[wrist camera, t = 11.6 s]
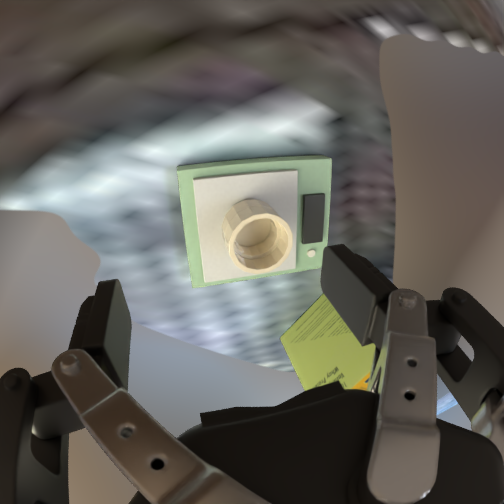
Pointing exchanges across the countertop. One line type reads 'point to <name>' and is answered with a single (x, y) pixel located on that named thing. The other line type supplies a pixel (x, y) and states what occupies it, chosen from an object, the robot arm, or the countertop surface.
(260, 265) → the beige cup
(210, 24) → the countertop surface
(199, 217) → the scale
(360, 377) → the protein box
